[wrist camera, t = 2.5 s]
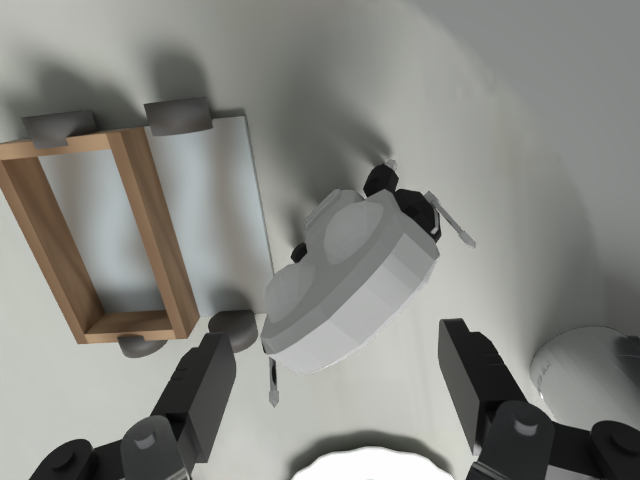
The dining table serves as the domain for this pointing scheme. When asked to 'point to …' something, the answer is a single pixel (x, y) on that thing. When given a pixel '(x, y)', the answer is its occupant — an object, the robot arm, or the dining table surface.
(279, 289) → the robot toy
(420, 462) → the plate
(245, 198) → the chassis
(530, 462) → the robot arm
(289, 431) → the dining table surface
